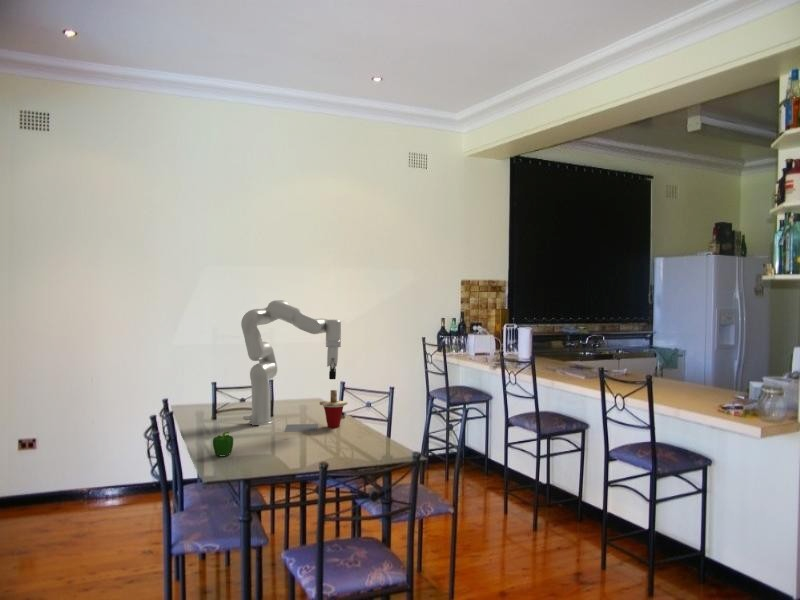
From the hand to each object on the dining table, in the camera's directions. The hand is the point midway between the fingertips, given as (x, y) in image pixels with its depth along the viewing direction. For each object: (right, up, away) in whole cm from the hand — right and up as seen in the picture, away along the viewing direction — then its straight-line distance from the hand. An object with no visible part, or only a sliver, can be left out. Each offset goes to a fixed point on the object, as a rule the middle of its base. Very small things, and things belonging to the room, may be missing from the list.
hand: (332, 377), depth 306 cm
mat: (-15, -26, -2) cm, 30 cm away
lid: (+1, -14, 0) cm, 14 cm away
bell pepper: (-41, -27, -50) cm, 70 cm away
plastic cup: (+1, -26, 0) cm, 26 cm away
